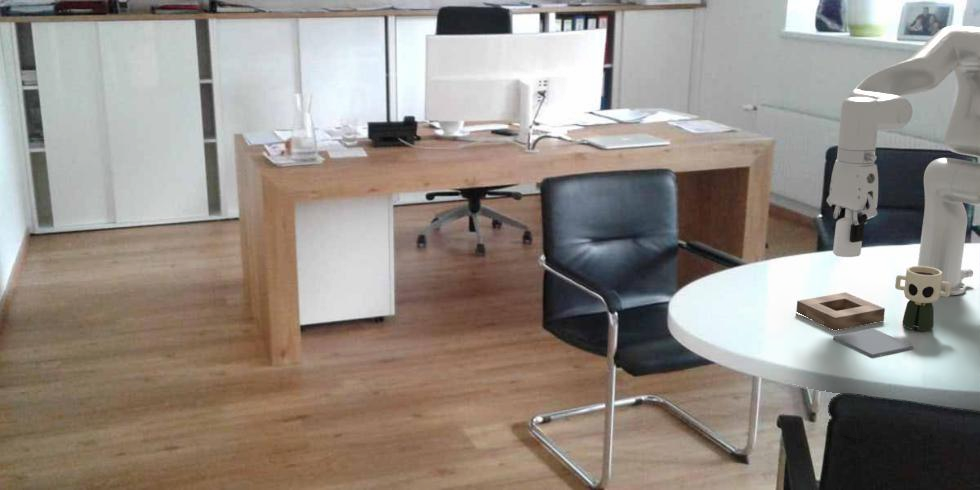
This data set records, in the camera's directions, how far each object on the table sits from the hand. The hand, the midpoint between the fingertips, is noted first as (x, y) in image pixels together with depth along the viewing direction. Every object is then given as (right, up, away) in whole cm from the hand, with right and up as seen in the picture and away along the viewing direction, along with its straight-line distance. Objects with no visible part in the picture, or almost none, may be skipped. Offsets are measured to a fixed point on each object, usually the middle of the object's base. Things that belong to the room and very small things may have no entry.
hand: (848, 237), depth 220 cm
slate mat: (+1, -22, -10) cm, 24 cm away
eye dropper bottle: (0, -4, +1) cm, 4 cm away
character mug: (+14, -20, -1) cm, 24 cm away
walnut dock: (0, -18, +5) cm, 18 cm away
